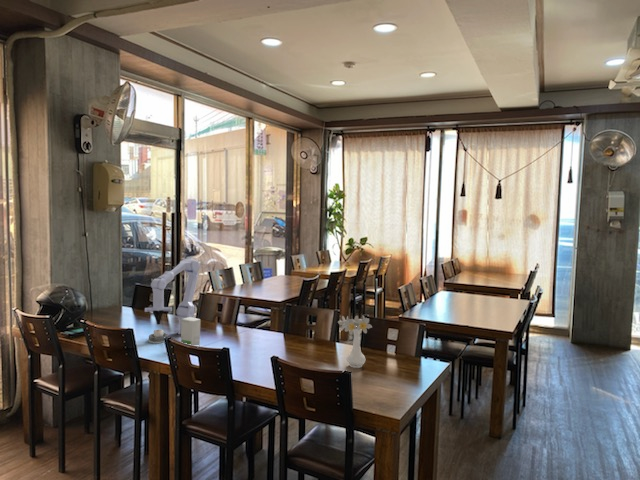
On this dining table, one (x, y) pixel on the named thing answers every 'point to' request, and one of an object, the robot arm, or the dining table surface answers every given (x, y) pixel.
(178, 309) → the robot arm
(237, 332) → the dining table surface
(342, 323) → the flower vase
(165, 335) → the round grey ashtray
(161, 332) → the cap
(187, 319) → the skincare box
